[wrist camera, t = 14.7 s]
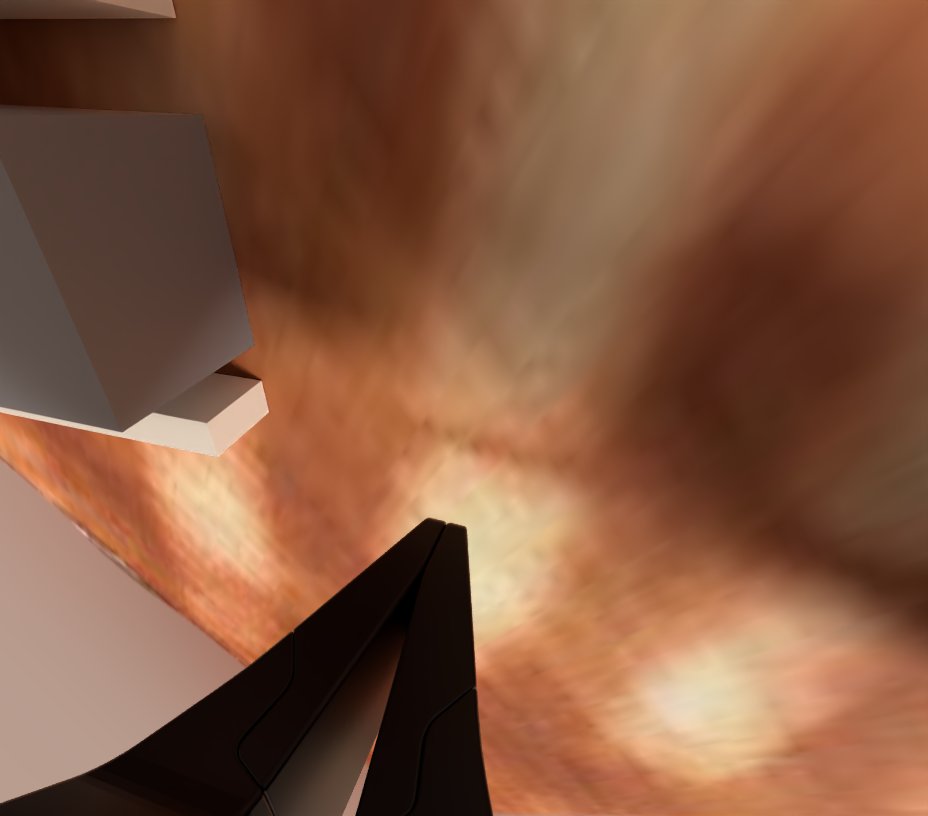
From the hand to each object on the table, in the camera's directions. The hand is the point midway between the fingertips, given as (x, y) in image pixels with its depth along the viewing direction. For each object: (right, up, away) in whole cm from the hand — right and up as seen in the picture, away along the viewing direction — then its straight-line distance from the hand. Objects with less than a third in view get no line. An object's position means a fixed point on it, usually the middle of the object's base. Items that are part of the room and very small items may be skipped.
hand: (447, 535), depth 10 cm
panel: (-11, +8, +4) cm, 14 cm away
